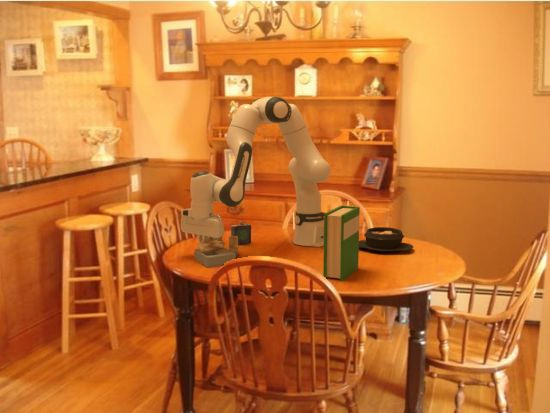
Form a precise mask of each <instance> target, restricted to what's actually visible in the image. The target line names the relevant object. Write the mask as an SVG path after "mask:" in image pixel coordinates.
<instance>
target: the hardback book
mask: <svg viewBox="0 0 550 413" xmlns="http://www.w3.org/2000/svg"><path fill="white" fill-rule="evenodd" d="M360 211H361V208H360V206H350V205H339V206H337V207H334V208H332V209H331V210H329V211H327V212H326V213H325V212H323V213H324V246H323V266H322V267H323V275H322V276H324V277H326V279H328V278H333V279H339V280H340V282H344V281H345V280H346V279H347V278H349V277H350V276H351V275H352V274H354V272H356V271H357V270H358V269H359V249H360V247H359V241H360V215H361V214H360Z"/></svg>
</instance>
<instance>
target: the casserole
mask: <svg viewBox="0 0 550 413" xmlns="http://www.w3.org/2000/svg"><path fill="white" fill-rule="evenodd" d="M363 236H364V237H365V239H359V248H362V249H367V250H369V251H372V252H376V253H385V254H387V253H388V254H389V253H394V252H401V251H402V252H407V251H410V250H412V249H413V248H414V246H413V245H412V244H411V243H407V242H403V239H404V238H405V235H404V234H403V231H402V230H401V229H398V228H394V227H387V226H385V227H381V226H378V227H376V226H375V227H370V228H367V229H366V232H365V233H364V234H363Z"/></svg>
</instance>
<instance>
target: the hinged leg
mask: <svg viewBox="0 0 550 413" xmlns="http://www.w3.org/2000/svg"><path fill="white" fill-rule="evenodd" d="M222 240H223V239H222ZM222 240H214V241H210V242H205V243H201V244H199V243H198V244H197V245H198V246H197V249H198V251H201V252H206V251H210V250H215V249H219V248H223V245H224V244H223V241H224V240H223V241H222Z"/></svg>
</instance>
